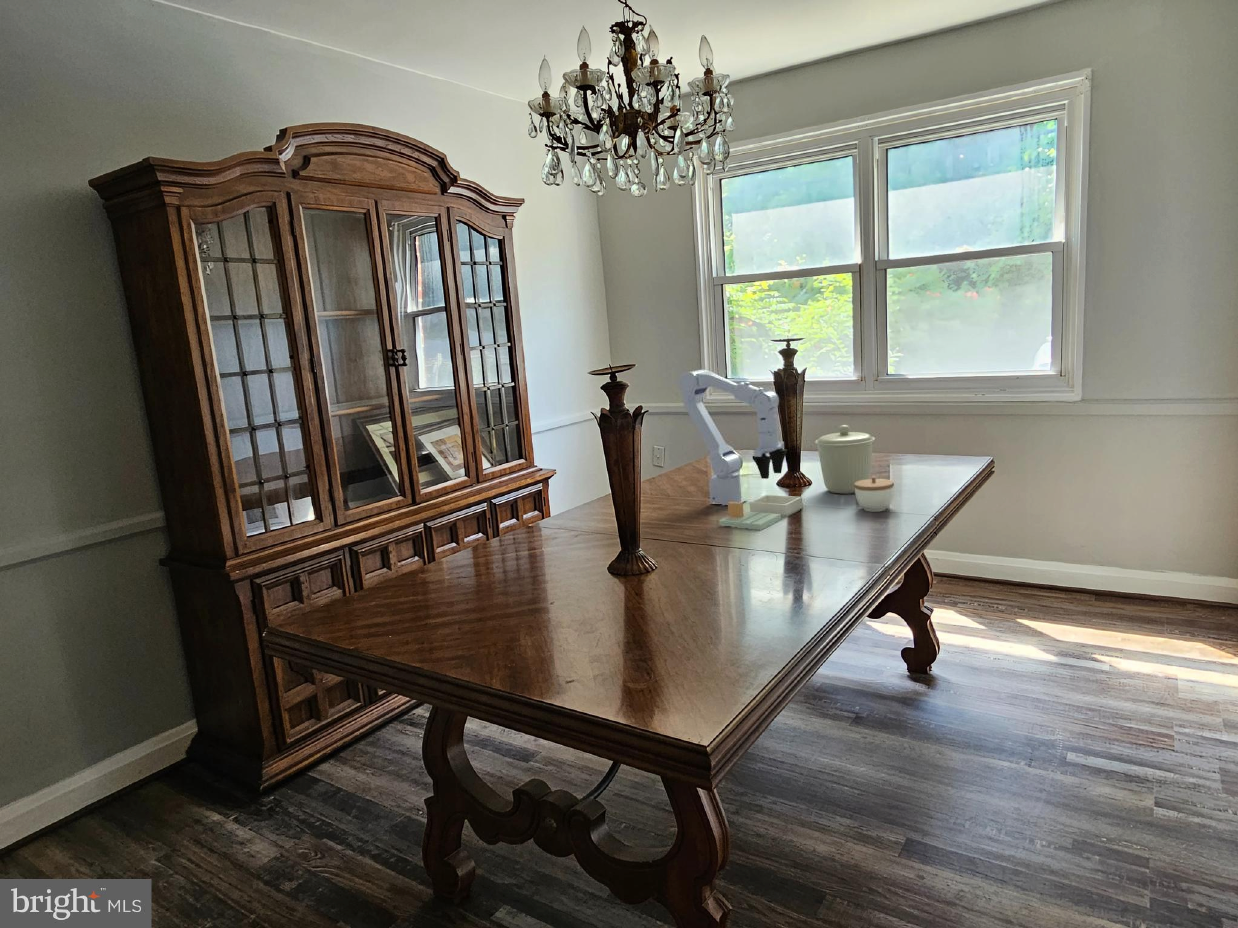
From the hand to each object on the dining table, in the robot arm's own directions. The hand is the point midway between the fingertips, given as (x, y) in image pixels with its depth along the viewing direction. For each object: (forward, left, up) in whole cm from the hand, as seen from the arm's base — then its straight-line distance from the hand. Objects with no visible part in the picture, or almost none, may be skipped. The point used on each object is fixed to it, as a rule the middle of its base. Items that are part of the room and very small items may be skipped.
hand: (771, 475), depth 232 cm
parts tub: (+4, -6, -9) cm, 12 cm away
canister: (+13, +24, -10) cm, 29 cm away
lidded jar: (+30, +4, -10) cm, 32 cm away
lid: (+3, -20, -9) cm, 22 cm away
